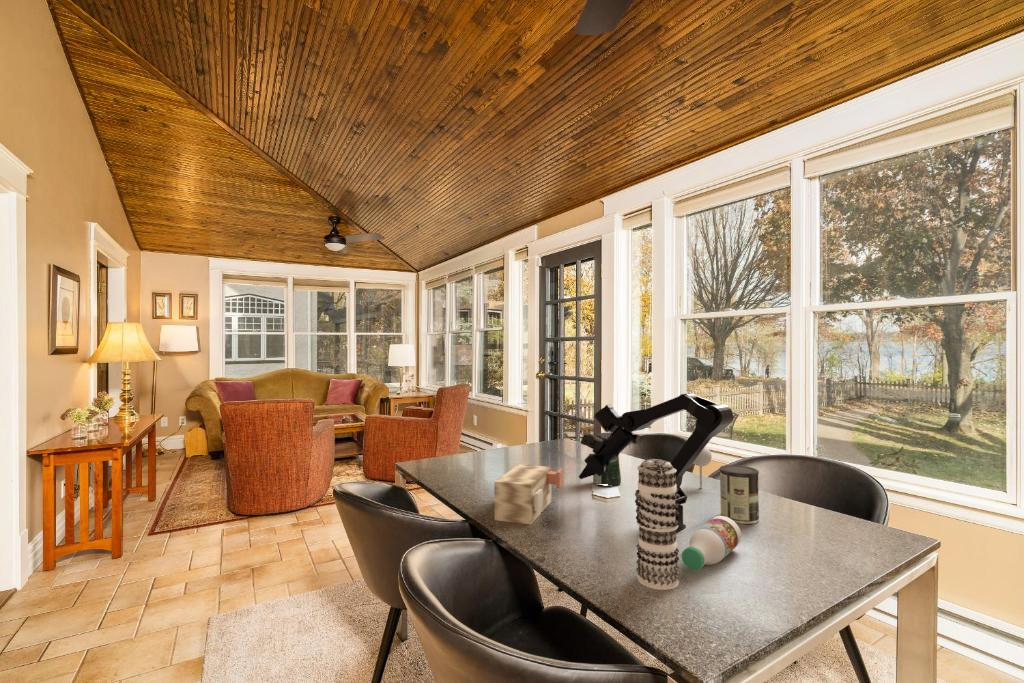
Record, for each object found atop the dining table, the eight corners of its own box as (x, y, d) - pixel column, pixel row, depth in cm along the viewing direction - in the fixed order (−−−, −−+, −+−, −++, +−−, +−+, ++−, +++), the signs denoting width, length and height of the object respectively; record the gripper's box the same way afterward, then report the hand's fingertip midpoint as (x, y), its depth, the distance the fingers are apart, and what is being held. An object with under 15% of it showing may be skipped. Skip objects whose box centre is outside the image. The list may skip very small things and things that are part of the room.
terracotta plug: (563, 484, 151) (563, 468, 151) (559, 488, 146) (559, 472, 147) (527, 480, 155) (527, 466, 155) (522, 484, 150) (522, 469, 151)
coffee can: (748, 511, 143) (747, 464, 143) (766, 524, 133) (766, 473, 133) (713, 511, 143) (713, 464, 143) (729, 524, 132) (729, 473, 133)
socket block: (551, 501, 153) (551, 466, 153) (531, 524, 133) (531, 485, 133) (518, 497, 157) (518, 464, 157) (494, 520, 136) (494, 481, 136)
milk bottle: (731, 553, 116) (698, 586, 102) (704, 530, 121) (668, 558, 106) (748, 531, 113) (716, 561, 99) (719, 508, 118) (684, 533, 104)
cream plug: (542, 505, 138) (542, 489, 138) (538, 511, 133) (538, 493, 133) (504, 501, 142) (503, 485, 142) (498, 506, 137) (498, 489, 137)
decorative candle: (687, 579, 101) (686, 460, 101) (669, 595, 94) (668, 469, 94) (647, 566, 107) (646, 454, 107) (627, 581, 100) (626, 462, 101)
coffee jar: (612, 479, 178) (611, 430, 178) (624, 485, 171) (623, 433, 171) (589, 482, 175) (589, 431, 175) (601, 488, 167) (600, 435, 168)
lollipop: (685, 486, 169) (685, 444, 169) (702, 484, 171) (702, 443, 171) (699, 492, 162) (698, 448, 162) (716, 490, 164) (716, 447, 165)
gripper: (600, 419, 154) (567, 452, 157) (591, 428, 136) (554, 464, 140) (625, 445, 151) (591, 477, 155) (619, 457, 134) (581, 493, 137)
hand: (579, 477), depth 146 cm, fingers closed
